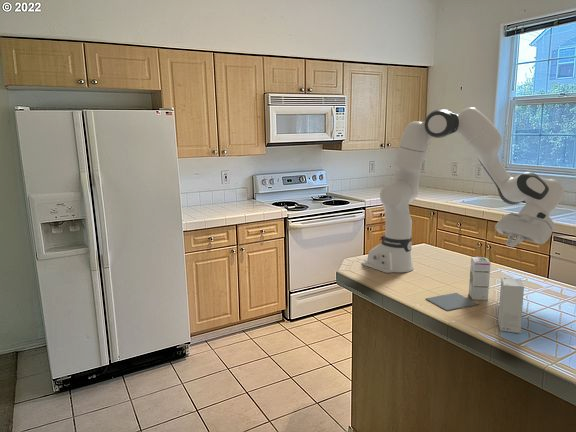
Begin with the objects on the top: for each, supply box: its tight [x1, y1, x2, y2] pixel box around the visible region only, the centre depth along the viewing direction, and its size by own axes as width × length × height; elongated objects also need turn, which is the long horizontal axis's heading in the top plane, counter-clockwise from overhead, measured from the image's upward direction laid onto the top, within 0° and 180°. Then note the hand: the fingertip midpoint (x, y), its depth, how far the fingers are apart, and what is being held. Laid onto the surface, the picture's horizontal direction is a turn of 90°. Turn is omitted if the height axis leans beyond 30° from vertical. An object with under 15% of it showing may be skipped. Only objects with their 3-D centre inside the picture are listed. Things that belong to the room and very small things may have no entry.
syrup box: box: [468, 256, 491, 301], centre depth 158 cm, size 6×6×14 cm
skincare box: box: [497, 277, 525, 334], centre depth 134 cm, size 8×6×15 cm
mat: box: [425, 292, 480, 312], centre depth 155 cm, size 11×14×1 cm
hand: (509, 245), depth 161 cm, fingers closed
